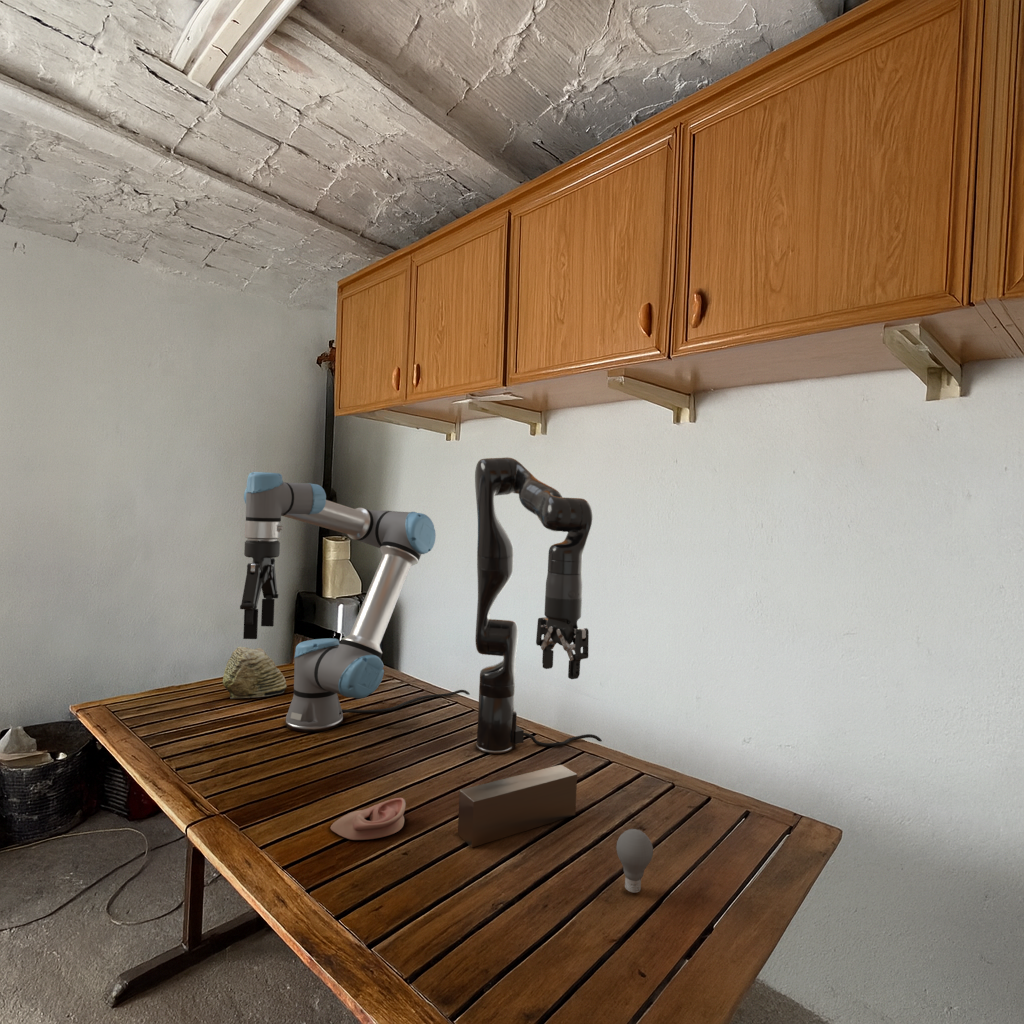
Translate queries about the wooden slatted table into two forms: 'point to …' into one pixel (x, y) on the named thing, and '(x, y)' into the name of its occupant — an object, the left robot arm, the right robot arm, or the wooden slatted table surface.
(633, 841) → the light bulb
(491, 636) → the right robot arm
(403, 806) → the anatomical model
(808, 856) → the wooden slatted table surface
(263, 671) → the fossil
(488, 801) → the bar
